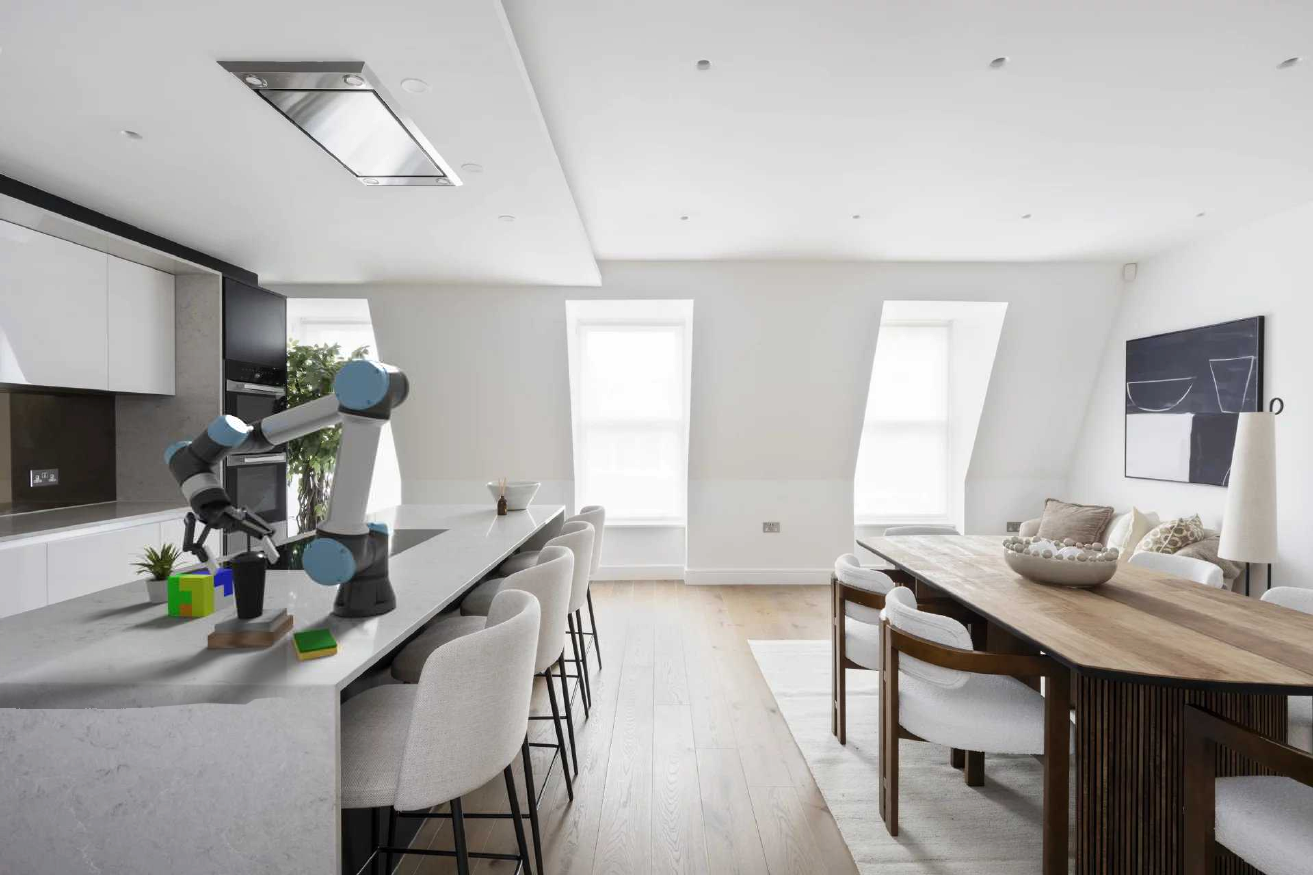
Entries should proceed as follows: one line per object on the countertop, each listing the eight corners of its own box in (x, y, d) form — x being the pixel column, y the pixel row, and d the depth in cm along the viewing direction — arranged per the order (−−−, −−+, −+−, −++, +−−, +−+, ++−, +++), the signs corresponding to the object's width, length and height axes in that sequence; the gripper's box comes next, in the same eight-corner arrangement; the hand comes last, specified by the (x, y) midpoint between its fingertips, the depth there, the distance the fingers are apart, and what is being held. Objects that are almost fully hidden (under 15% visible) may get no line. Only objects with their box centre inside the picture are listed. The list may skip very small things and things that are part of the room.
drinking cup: (241, 611, 154) (239, 526, 153) (275, 610, 155) (274, 526, 154) (222, 621, 146) (221, 532, 146) (259, 620, 147) (257, 531, 146)
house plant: (139, 596, 187) (137, 539, 187) (197, 591, 192) (196, 535, 192) (121, 609, 174) (120, 548, 173) (184, 603, 179) (183, 543, 179)
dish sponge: (299, 662, 136) (299, 650, 136) (293, 643, 148) (293, 632, 148) (337, 655, 140) (337, 644, 140) (328, 637, 152) (328, 627, 152)
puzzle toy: (233, 606, 177) (232, 569, 177) (204, 617, 167) (203, 577, 167) (199, 605, 178) (198, 568, 178) (168, 616, 168) (167, 577, 168)
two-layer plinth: (293, 627, 158) (292, 606, 158) (273, 645, 146) (272, 622, 145) (233, 630, 156) (233, 609, 156) (207, 649, 143) (207, 626, 143)
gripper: (252, 501, 169) (291, 565, 163) (141, 513, 147) (181, 588, 141) (265, 481, 167) (304, 545, 160) (154, 491, 144) (195, 566, 138)
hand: (247, 565), depth 150 cm, fingers open, 13 cm apart
